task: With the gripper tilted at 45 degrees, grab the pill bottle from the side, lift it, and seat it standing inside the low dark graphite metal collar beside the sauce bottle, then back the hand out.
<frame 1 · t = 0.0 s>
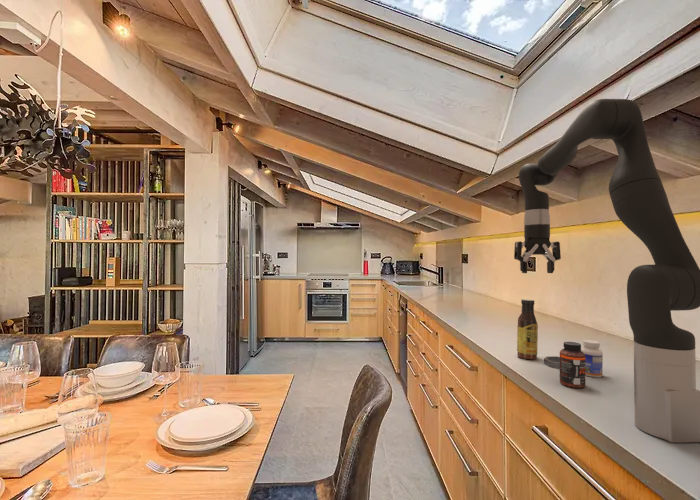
hand: (537, 273, 115), 29 cm above the countertop, tool pointing down, fingers open, 8 cm apart
supplement bottle: (572, 385, 95), on the countertop
locating collar: (559, 365, 112), on the countertop
pill bottle: (591, 375, 103), on the countertop
sauce bottle: (527, 358, 120), on the countertop
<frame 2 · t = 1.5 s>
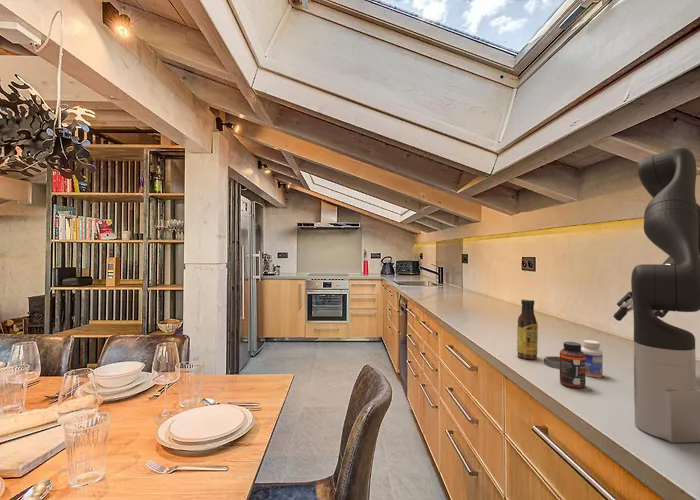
hand: (627, 321, 104), 15 cm above the countertop, tool tilted 45°, fingers open, 8 cm apart
nothing on the countertop moved.
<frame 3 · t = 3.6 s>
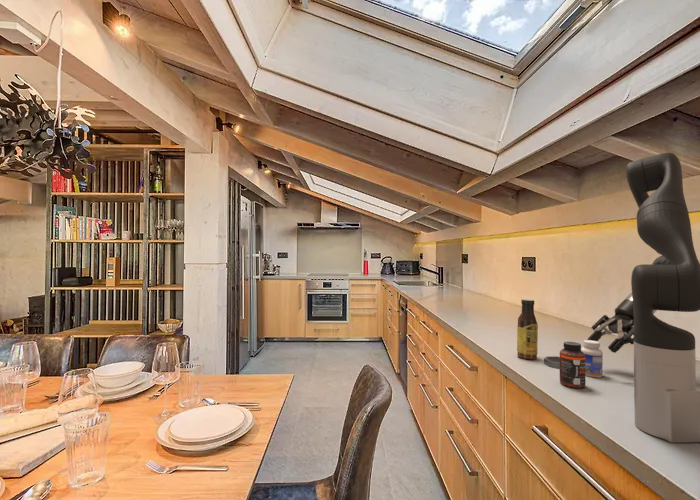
hand: (600, 346, 103), 8 cm above the countertop, tool tilted 45°, fingers open, 8 cm apart
nothing on the countertop moved.
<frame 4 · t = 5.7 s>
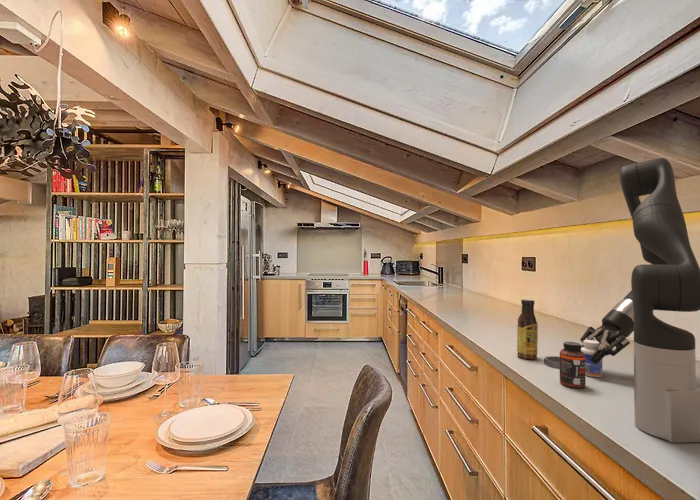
hand: (585, 358, 103), 5 cm above the countertop, tool tilted 45°, fingers closed on pill bottle, 5 cm apart
pill bottle: (591, 375, 103), on the countertop, touching gripper
everything else where it was.
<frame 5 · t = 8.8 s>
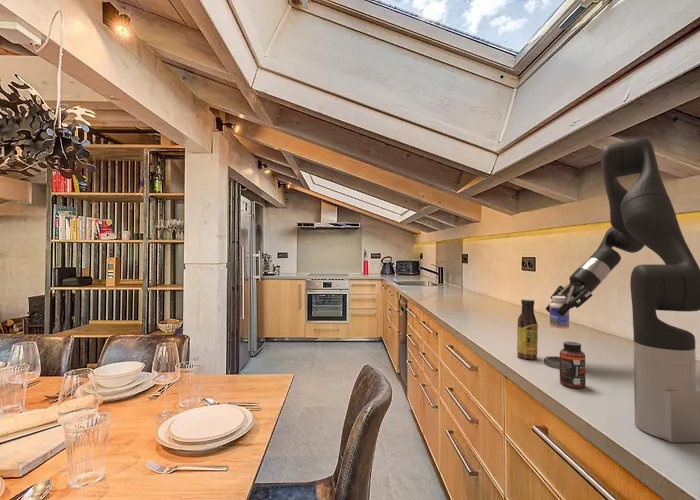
hand: (553, 312, 112), 17 cm above the countertop, tool tilted 45°, fingers closed on pill bottle, 5 cm apart
pill bottle: (559, 327, 112), point 12 cm above the countertop, touching gripper
everything else where it was.
when the fingers open (6 cm above the countertop, at t = 12.1 s): pill bottle drops 1 cm, on the countertop.
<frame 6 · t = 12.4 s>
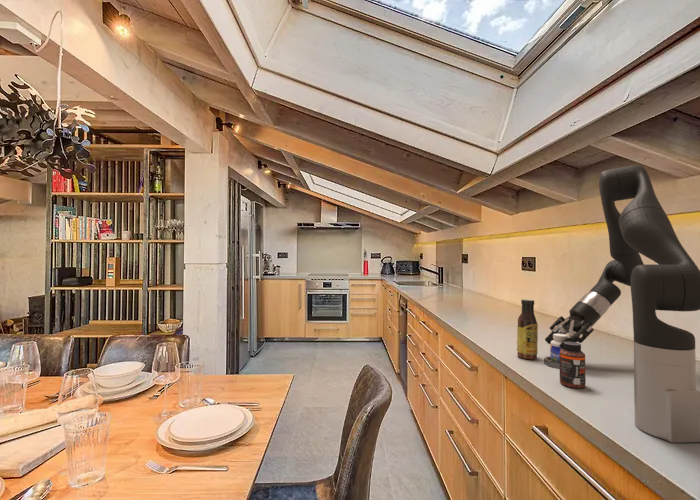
hand: (554, 345, 112), 6 cm above the countertop, tool tilted 45°, fingers open, 7 cm apart
pill bottle: (560, 365, 112), on the countertop
everything else where it was.
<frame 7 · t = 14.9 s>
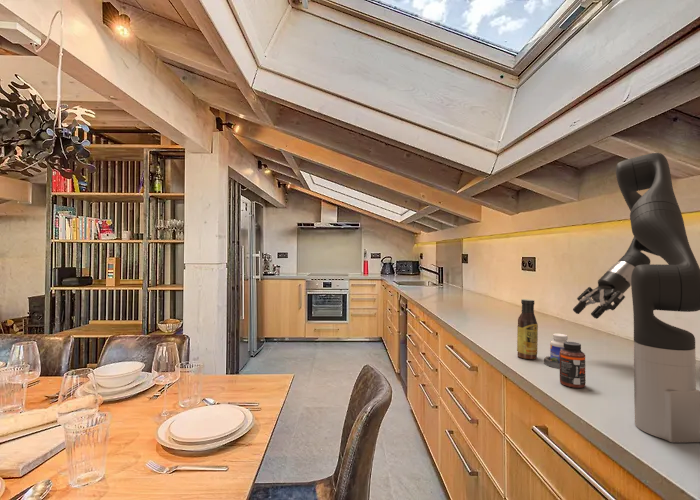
hand: (584, 314, 112), 16 cm above the countertop, tool tilted 45°, fingers open, 8 cm apart
nothing on the countertop moved.
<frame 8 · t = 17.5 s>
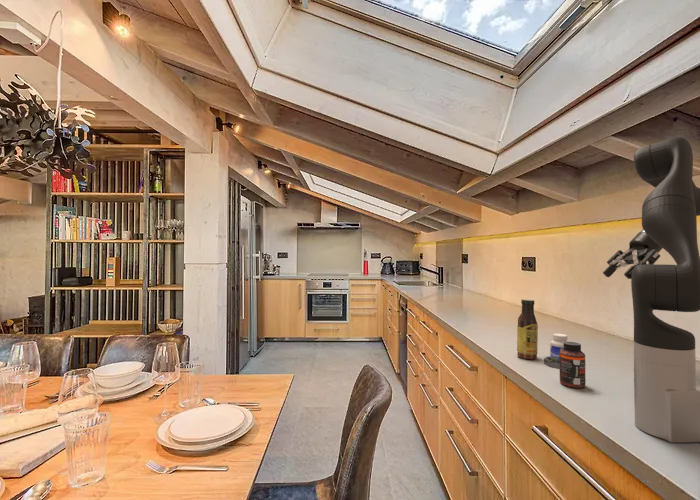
hand: (615, 276, 109), 29 cm above the countertop, tool tilted 45°, fingers open, 8 cm apart
nothing on the countertop moved.
at the end: pill bottle 0.3 cm from the locating collar (horizontally); pill bottle tilted 0°; the gripper is holding nothing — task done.
